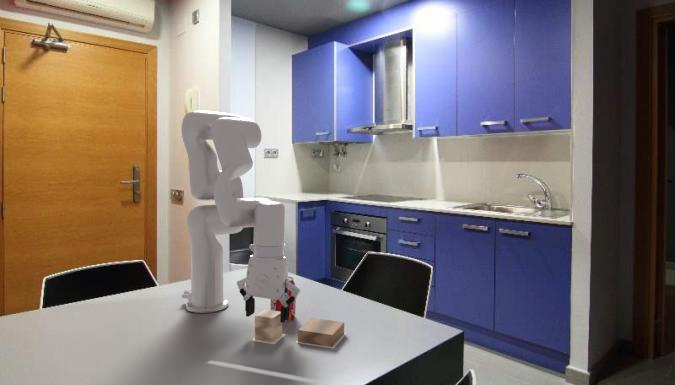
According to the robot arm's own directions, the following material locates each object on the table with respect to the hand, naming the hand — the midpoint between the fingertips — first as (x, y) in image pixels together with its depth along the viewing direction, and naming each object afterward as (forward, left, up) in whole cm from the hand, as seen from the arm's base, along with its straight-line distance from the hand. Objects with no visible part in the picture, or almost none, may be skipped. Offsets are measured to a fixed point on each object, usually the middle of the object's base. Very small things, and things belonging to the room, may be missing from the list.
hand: (267, 317), depth 107 cm
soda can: (-2, +14, -6) cm, 15 cm away
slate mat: (+8, +2, -6) cm, 10 cm away
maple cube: (+1, 0, -5) cm, 5 cm away
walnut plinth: (+13, +4, -5) cm, 15 cm away
